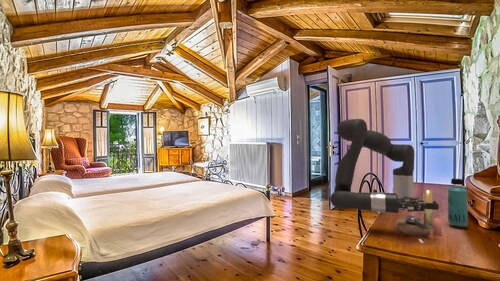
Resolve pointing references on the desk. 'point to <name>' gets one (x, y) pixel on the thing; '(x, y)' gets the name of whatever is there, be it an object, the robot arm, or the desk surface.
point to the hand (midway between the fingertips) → (436, 205)
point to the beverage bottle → (457, 204)
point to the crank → (427, 213)
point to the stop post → (437, 226)
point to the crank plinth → (411, 228)
